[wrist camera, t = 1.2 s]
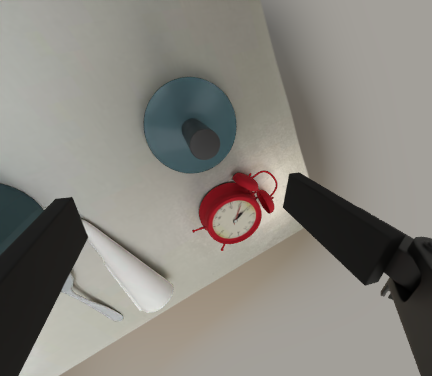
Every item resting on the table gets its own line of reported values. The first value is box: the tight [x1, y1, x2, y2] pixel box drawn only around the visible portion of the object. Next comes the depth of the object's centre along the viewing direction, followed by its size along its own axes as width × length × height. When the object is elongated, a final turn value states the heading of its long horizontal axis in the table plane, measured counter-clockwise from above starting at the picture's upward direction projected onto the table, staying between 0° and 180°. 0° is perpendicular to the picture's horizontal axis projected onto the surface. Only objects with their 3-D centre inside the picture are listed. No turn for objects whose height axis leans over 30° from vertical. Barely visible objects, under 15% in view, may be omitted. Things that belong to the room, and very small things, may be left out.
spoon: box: [61, 273, 123, 321], centre depth 33 cm, size 4×21×2 cm, turn 21°
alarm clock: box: [192, 171, 277, 251], centre depth 31 cm, size 10×6×15 cm
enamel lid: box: [144, 77, 236, 173], centre depth 22 cm, size 12×12×9 cm
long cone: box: [81, 219, 174, 313], centre depth 31 cm, size 6×6×19 cm
